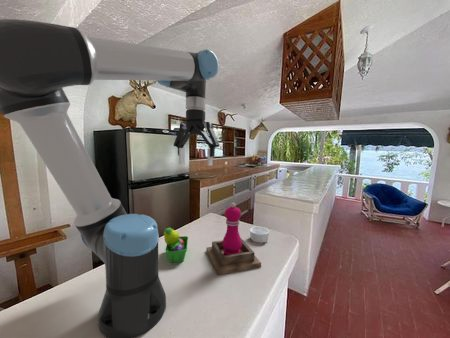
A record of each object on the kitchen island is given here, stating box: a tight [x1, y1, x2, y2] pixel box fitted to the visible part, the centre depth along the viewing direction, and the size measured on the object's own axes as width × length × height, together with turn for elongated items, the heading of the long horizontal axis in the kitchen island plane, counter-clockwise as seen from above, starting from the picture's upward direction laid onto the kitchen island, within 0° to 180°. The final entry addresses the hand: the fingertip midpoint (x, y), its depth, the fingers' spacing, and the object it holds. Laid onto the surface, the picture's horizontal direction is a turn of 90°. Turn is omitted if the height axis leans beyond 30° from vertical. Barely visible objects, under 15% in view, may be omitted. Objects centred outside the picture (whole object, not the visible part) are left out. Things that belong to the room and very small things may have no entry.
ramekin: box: [249, 226, 270, 244], centre depth 91 cm, size 9×9×4 cm
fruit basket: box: [163, 227, 189, 263], centre depth 75 cm, size 11×9×11 cm
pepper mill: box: [222, 202, 242, 256], centre depth 73 cm, size 7×7×20 cm
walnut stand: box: [205, 238, 262, 276], centre depth 74 cm, size 16×16×4 cm
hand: (195, 164), depth 79 cm, fingers open, 13 cm apart
